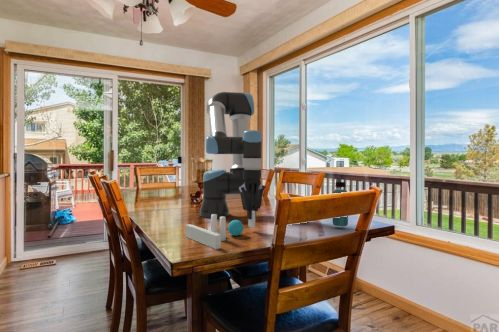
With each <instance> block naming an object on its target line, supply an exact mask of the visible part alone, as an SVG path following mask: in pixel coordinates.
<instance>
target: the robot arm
mask: <svg viewBox="0 0 499 332" xmlns="http://www.w3.org/2000/svg"><path fill="white" fill-rule="evenodd" d="M206 113H207V116H208V124H209V125H208V126H209V136H206V137H205V152H206V154H208V155H232V166H231V167H230V168H229V171H227V170H226V169H225V168H222V169H214V170H209V171H208V170H207V171H205V172H204V173H203V177H202V186H203V187H202V188H203V189H202V203H201V206H200V209H199V216H200V217H202V218H208V219H211V215H212V214H217V219H218V218H219V219H220V217H222V216H224V217H229V215H230V209H229V206H228V203H227V195H231V196H232V195H233V196H235V195H236V196H237V195H240V198H241V199H240V200H241V206H242V210H245V212H246V218H247V221H248V222H247V227H248V228H256V219H257V212H259V209H261V207H262V201H263V194H264V191H265V188H266V185H264V184H262V183H261V178H262V170H261V168H262V147H263V145H262V143H263V138H262V137H263V136H262V135H263V134H262V132H261V130H250V129H249V121H251V119H252V116H253V115H254V114H255V102H254V97H253V94H251V93H248V92H235V91H234V92H229V91H228V92H227V91H221V92H218V93H216V94H214V95H212V97H211V98H209V100H208V102H207V104H206ZM225 115H229V120H231V122H232V123H231V124H232V126H231V127H232V128H231V129H232V136H228V134H227V126H226V119H225V118H226V117H225Z"/></svg>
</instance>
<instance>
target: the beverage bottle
mask: <svg viewBox="0 0 499 332" xmlns="http://www.w3.org/2000/svg"><path fill="white" fill-rule="evenodd" d="M334 186H335V187H336V188H338V189H334V190H333V192H332V194H333V193H341V192H348V191H347V190H346V189H343V188H346V181H336V182H335V185H334ZM339 188H342V189H339ZM332 225H333V226H336V227H347V226H348V225H349V215H348V216H347V217H340V218H332Z"/></svg>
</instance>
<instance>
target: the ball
mask: <svg viewBox="0 0 499 332" xmlns="http://www.w3.org/2000/svg"><path fill="white" fill-rule="evenodd" d="M227 230H228V232H229V234H230V235H231V236H234V237H235V236H236V237H237V236H240V235H241V234H242V233H243V232H244V224H243V222H242V221H240V220H239V219H233V220H232V221H230V222H229V223H228V226H227Z"/></svg>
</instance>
